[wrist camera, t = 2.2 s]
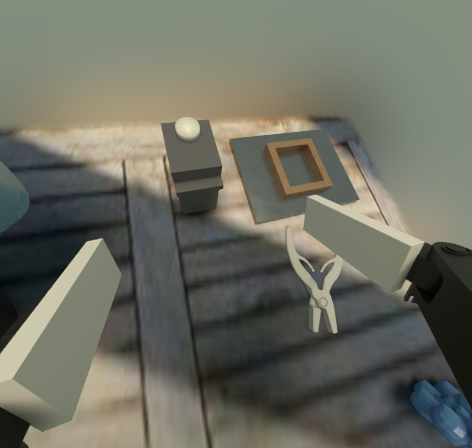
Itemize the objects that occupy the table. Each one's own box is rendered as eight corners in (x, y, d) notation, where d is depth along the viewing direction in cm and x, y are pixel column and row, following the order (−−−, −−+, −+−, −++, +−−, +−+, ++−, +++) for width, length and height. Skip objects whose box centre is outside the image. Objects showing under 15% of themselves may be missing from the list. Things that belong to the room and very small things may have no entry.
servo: (185, 221, 27) (171, 179, 16) (175, 174, 29) (157, 107, 18) (217, 215, 28) (226, 171, 17) (205, 169, 30) (206, 104, 19)
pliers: (345, 230, 30) (358, 334, 25) (338, 233, 31) (350, 331, 26) (288, 223, 28) (291, 331, 24) (284, 226, 30) (286, 328, 25)
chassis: (255, 224, 29) (260, 219, 26) (229, 143, 33) (231, 132, 31) (355, 201, 33) (366, 195, 31) (321, 132, 38) (329, 122, 35)
